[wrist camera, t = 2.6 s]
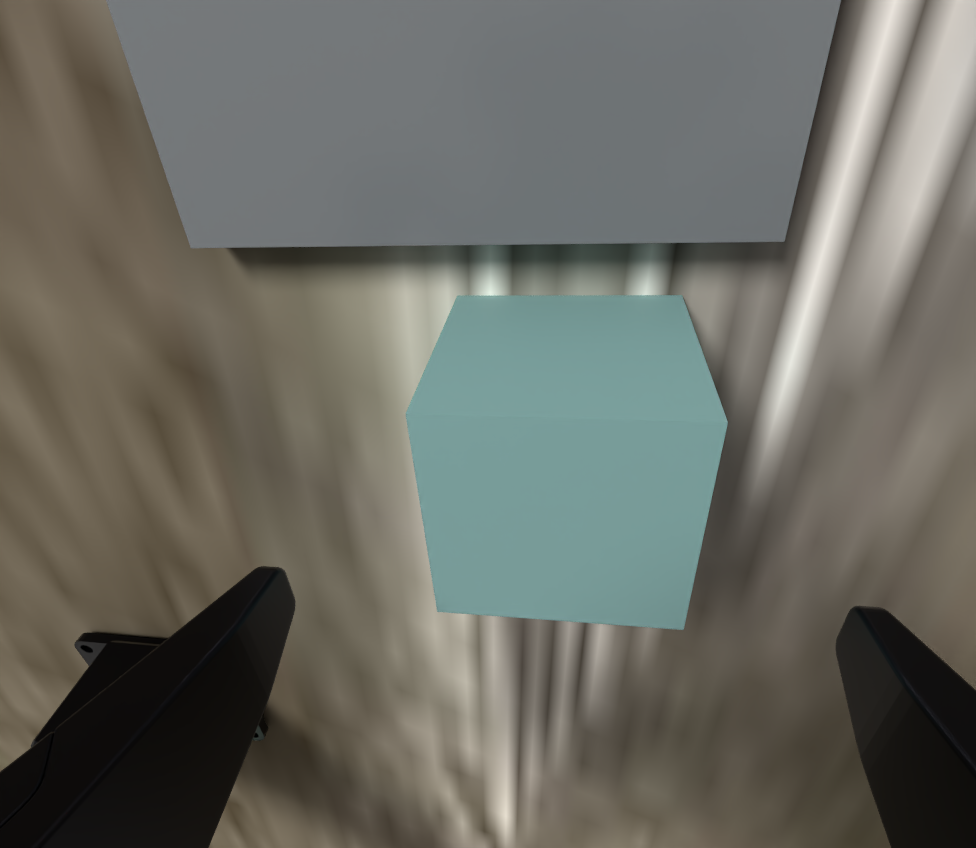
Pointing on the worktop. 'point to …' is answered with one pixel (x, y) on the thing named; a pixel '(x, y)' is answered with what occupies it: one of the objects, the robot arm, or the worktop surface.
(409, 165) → the pad
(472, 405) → the block
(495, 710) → the worktop surface
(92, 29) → the worktop surface
